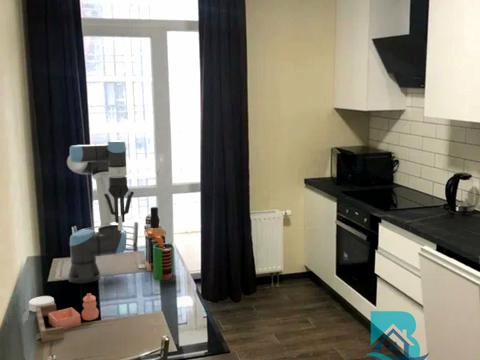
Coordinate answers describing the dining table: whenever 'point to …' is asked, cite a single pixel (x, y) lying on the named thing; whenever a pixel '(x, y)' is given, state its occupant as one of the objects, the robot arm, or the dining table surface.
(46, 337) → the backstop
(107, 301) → the dining table surface
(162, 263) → the motor
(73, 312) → the pottery
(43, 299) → the coaster
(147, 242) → the whiskey bottle
